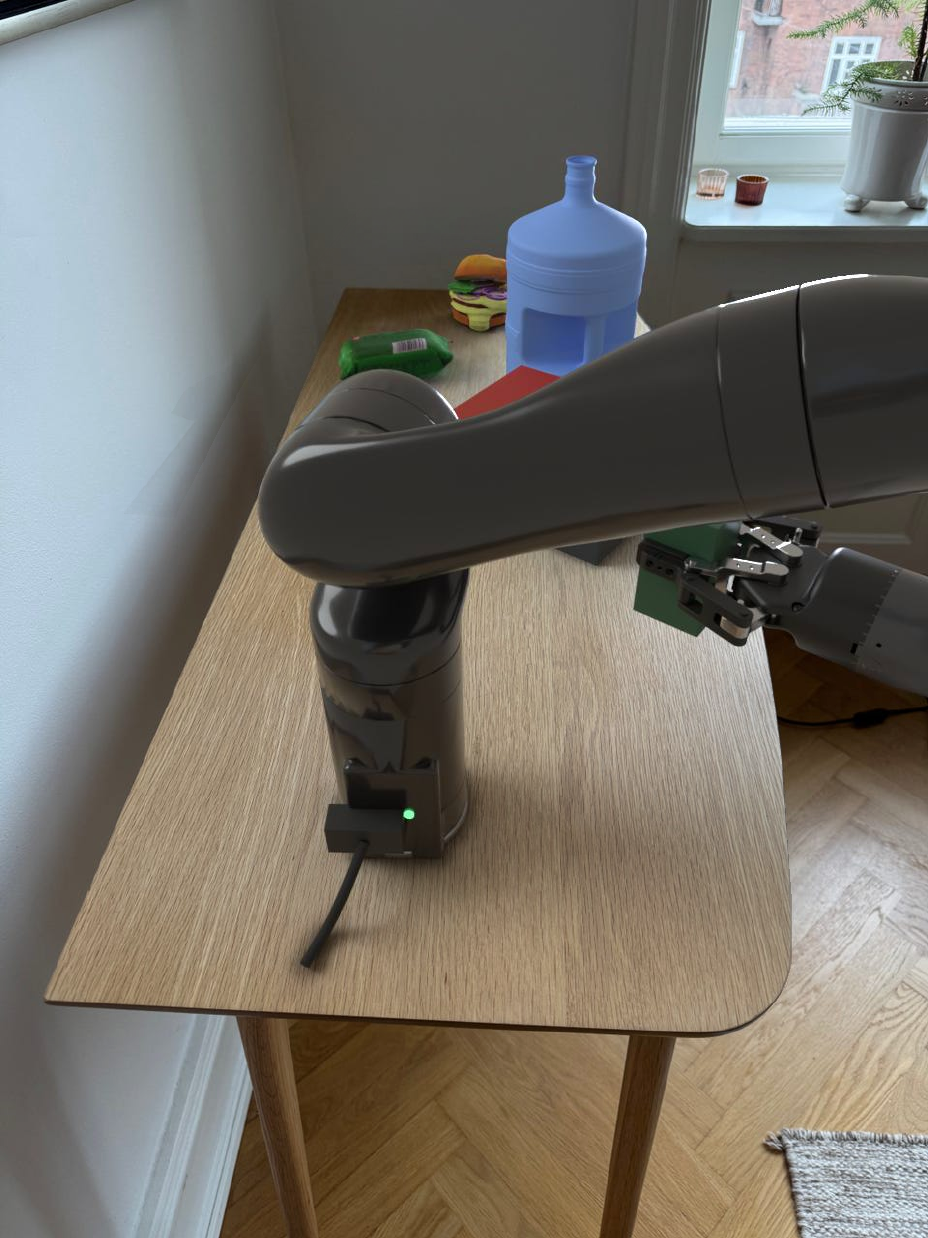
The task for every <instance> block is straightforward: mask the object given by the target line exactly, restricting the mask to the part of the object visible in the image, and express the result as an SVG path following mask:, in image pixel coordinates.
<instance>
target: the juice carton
mask: <svg viewBox="0 0 928 1238" xmlns="http://www.w3.org/2000/svg"><path fill="white" fill-rule="evenodd" d="M741 524H742V521H741V522H732V523H721V524H711V525H702V526H693V527H686V528H679V529H673V530H667V531H660V532H654V533H648V534H643V539H644V538H649V539H652V540H654V541H657V542H660V543H662V544H665V545H667V546H670V547H672V548H675V549H677V550H680V551H682V552H685V553H688V554H689V557H696V558H702V559H706V560H709V561H711V562H713V561H720V560H721V559H722V558H725V557H728V558H733V556H734V554H735V550H736V546H737V541H738V534H739V532H740V528H741ZM643 539H642V540H643ZM637 572H638V573H637V580H636V586H635V594H634V600H633V607H632V610H633V611H635V612H637V613H639V614H642V615H644V616H646V617H649V618H651V619H653V620H656V621H658V622H660V623H662V624H664V625H667V626H668V627H672V628H674V629H676V630H679V631H680V632H683V633H685V634H688V635H690V636H692V637H695V638H698V637H699V636H700V635H701V633H702V632H703V631H704V630H705V629H706V628H707V627H706V626H704V625H703V624H701V623H700V622H698V621H697V620H695V619H694V618H693V617H691V616H690V615H688V614H687V613H685V612H684V611H682V610H681V609H679V608H678V607H677V606H676V601H677V597H678V593H679V586H678V585H677V584H676V583H675V582H672V581H670V580H668V579H665V578H663V577H660V576H658V575H657V574H656V575H655V574H653V573H652V572H651V573H650V572H648V571H646V570H644V569H643V568H641V567H640V566H639V565H638V571H637ZM700 578H702V579H703V580H705V581H706V582H708V583H709V582H710V583H714V582H716V578H715V577H713V576H709V575H703V574H700ZM729 580H730V577H729V578H728V580H727V584H726V588H727V589H728V585H729ZM695 599H696V600H698V601H699V602H701V603H702V604H703V601H702V599H701V598H699V597H698V596H696V598H695Z"/></svg>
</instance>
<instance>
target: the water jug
mask: <svg viewBox="0 0 928 1238" xmlns="http://www.w3.org/2000/svg"><path fill="white" fill-rule="evenodd" d="M565 164H566V166H567V167H566V169H567V170H566V174H565V178H564V183H565V191H564V192H565V193H564V196H563V198H562V199H561V200H559V201H556V202H554V203H552V204H549V205H547V206H544V207H542V208H540V209H537V210H535V211H533V212H530V213H528V214H525V215H523V216H521V217H520V218H518V219H516V220H515V221H514V222H513V223H512V224H511V225H510V227H509V228H508V232H507V243H506V251H505V256H506V258H505V260H506V268H507V314H506V320H505V323H504V324H505V325H504V334H505V335H504V336H505V341H506V349H505V351H506V352H505V353H506V354H505V356H506V357H505V358H506V359H505V361H506V362H505V375H507V374H508V373H510V372H511V371H513V370H514V369H516V368H517V367H519V366H520V365H523V366H527V367H530V368H533V369H536V370H540V371H543V372H546V373H549V374H553V375H556V376H559V377H563V376H564V375H566V374H568V373H570V372H572V371H573V370H575V369H577V368H579V367H581V366H582V365H584V364H586V363H588V362H590V361H591V360H593V359H595V358H597V357H599V356H601V355H603V354H604V353H606V352H608V351H610V350H612V349H614V348H616V347H618V346H620V345H622V344H624V343H626V342H628V341H630V340H632V339H634V338H635V335H636V327H637V319H638V305H639V297H640V296H641V292H642V283H643V275H644V273H645V267H646V258H647V246H646V245H647V237H648V235H647V231H646V228H645V227H644V225H642V223H641V222H639V221H638V220H636V219H635V218H633V217H631V216H629V215H627V214H625V213H623V212H621V211H619V210H617V209H615V208H613V207H610V206H609V205H607V204H604V203H602V202H600V201H598V200H596V198H595V195H594V189H595V183H596V174H595V166H596V165H597V159H596V157H594V156H590V155H574V156H569V157H567V158H566V160H565Z"/></svg>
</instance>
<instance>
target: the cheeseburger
mask: <svg viewBox="0 0 928 1238" xmlns="http://www.w3.org/2000/svg"><path fill="white" fill-rule="evenodd" d="M453 278H454V280H455V281H453V282H452V283H448V284H447V287H446V289H448V291H449V292H448V293H449V296H450V299H451V300H452V301H451V302H450V305H451V306H452V308H451V309H452V310H451V311H452V315H453V318H454V320H456V321H457V322H459V323H461V324H462V325H465V326H468V328H470V329H471V330H473V331H476V332H486V331H487V330H489V329H490V328H493V327H496V326H501V325H503V324H505V320H506V314H507V268H506V258H500V257H495V256H492V255H489V254H471V255H467V256H466V257H465V258H464V259H462V260H461V261H460V263H459V265H458V266H457V268H456V270H455V273H454V276H453Z"/></svg>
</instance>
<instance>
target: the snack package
mask: <svg viewBox="0 0 928 1238" xmlns="http://www.w3.org/2000/svg"><path fill="white" fill-rule="evenodd" d="M449 343H450V344H453V343H454V341H453V340H452V341H449V339H448V338H446V337H445V336H444V335H443V336H441V335H439V334H436V333H435V332H433V331H431V330H428V329H424V328H411V329H404V330H396V331H388V332H380V333H373V334H372V333H371V334H365V335H359V336H354V337H352V338H349V339H347V341H345V342H344V343H343V344H342V346H341V348H340V351H339V355H338V359H337V364H338V367H340V370H341V372H340V375H339V379H340V380H341V381H343V380H345V379H346V378H348V377H350V376H352V375H354V374H357V373H360V372H363V371H368V370H374V369H391V370H398V371H402V372H405V373H409V374H411V375H413V376H416V377H418V378H420V379H421V380H424V379H429V378H432V377H436V376H438V375H439V374H440V373H441V372H442V371H443V370H444V369H445V368H446V367H447V366H448V365H449V364H450V363H451V362H452V361H453V360H454V358H455V356H454V352H453V351H452V350H451V349H449V346H448V344H449Z"/></svg>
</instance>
